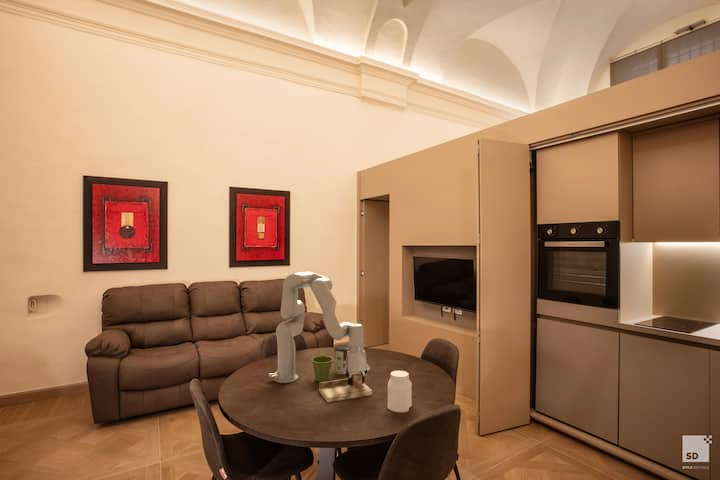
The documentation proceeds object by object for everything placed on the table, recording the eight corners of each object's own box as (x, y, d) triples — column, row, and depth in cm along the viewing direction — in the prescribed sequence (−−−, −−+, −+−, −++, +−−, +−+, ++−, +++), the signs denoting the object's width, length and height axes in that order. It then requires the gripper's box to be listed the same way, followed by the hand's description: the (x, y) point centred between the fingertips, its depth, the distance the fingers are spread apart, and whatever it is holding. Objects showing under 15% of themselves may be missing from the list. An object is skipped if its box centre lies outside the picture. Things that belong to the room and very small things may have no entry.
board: (327, 402, 172) (327, 392, 172) (319, 391, 185) (319, 382, 185) (372, 394, 181) (372, 385, 181) (361, 384, 194) (361, 376, 194)
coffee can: (352, 368, 219) (352, 344, 219) (351, 374, 209) (351, 349, 209) (335, 368, 219) (335, 344, 220) (333, 374, 209) (333, 349, 209)
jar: (393, 400, 174) (393, 368, 175) (413, 403, 171) (412, 370, 171) (385, 410, 164) (385, 376, 164) (406, 413, 160) (406, 379, 160)
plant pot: (307, 381, 199) (307, 360, 199) (319, 374, 209) (319, 354, 209) (325, 385, 193) (325, 363, 193) (337, 378, 204) (337, 357, 204)
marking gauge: (358, 392, 179) (358, 379, 179) (350, 384, 189) (350, 372, 189) (365, 390, 180) (365, 378, 181) (357, 383, 191) (357, 371, 191)
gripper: (342, 352, 181) (342, 389, 180) (374, 348, 187) (374, 384, 187) (337, 348, 188) (337, 384, 187) (368, 344, 194) (368, 379, 194)
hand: (356, 383), depth 187 cm, fingers open, 5 cm apart
